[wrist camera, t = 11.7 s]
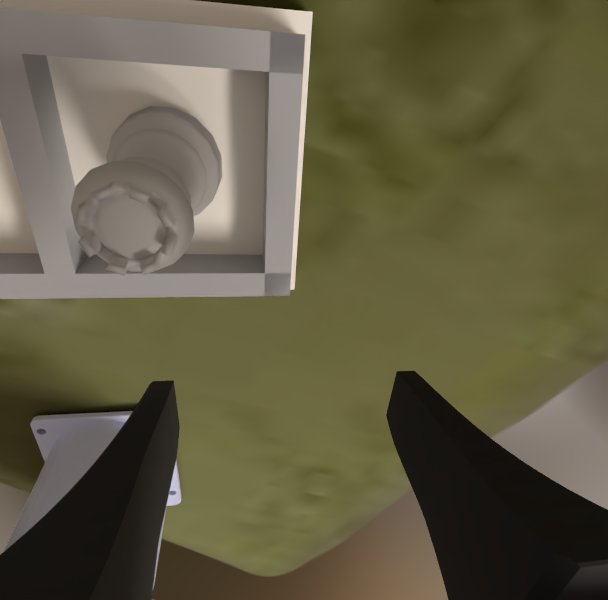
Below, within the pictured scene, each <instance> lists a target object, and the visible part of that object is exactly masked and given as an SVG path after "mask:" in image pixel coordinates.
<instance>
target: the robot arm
mask: <svg viewBox="0 0 608 600" xmlns="http://www.w3.org/2000/svg"><path fill="white" fill-rule="evenodd" d="M386 416H387V420H388V424H389V427H390V431H391V435H392V438H393V442H394V445H395V447H396V450H397V452H398V455H399V457H400V459H401V462H402V464H403V467H404V469H405V471H406V474H407V476H408V479H409V481H410V483H411V486H412V488H413V490H414V493H415V495H416V498H417V500H418V502H419V505H420V507H421V510H422V512H423V515H424V518H425V520H426V524H427V527H428V530H429V533H430V537H431V540H432V543H433V546H434V549H435V553H436V556H437V559H438V563H439V566H440V570H441V573H442V577H443V581H444V584H445V588H446V592H447V596H448V599H449V600H608V510H607V509H605V508H603V507H601V506H599V505H596V504H595V503H593V502H591V501H589V500H587V499H585V498H583V497H582V496H579V495H578V494H576V493H574V492H572V491H570V490H568V489H567V488H565V487H563V486H562V485H560V484H558V483H556V482H555V481H553V480H551V479H550V478H548V477H546V476H545V475H543V474H542V473H540V472H538V471H537V470H535V469H533V468H532V467H530V466H529V465H527V464H525V463H524V462H523V461H521V460H520V459H518V458H517V457H515V456H514V455H513V454H511V453H510V452H508V451H507V450H506V449H504V448H502V447H501V446H500V445H499V444H497V443H496V442H495V441H493V440H492V439H491V438H489V437H488V436H487V435H486V434H485V433H483V432H482V431H481V430H480V429H478V428H477V427H476V426H475V425H473V424H472V423H471V422H470V421H469V420H468V419H466V418H465V417H464V416H463V415H462V414H461V413H459V412H458V411H457V410H456V409H455V408H454V407H453V406H452V405H451V404H449V403H448V402H447V401H446V400H445V399H444V398H443V397H442V396H441V395H440V394H439V393H438V392H437V391H435V390H434V389H433V388H432V387H431V386H430V385H429V384H428V383H427V382H426V381H425V380H424V379H423V378H422V377H421V376H419V375H418V374H417V373H416V372H415V371H398V372H397V373H396V377H395V382H394V386H393V390H392V394H391V398H390V402H389V406H388V410H387V415H386ZM30 426H31V429H32V431H33V434H34V436H35V439H36V441H37V444H38V446H39V449H40V451H41V454H42V457H43V459H44V462H45V464H44V466H43V468H42V470H41V472H40V474H39V476H38V479H37V481H36V483H35V485H34V487H33V489H32V491H31V494H30V496H29V498H28V500H27V502H26V505H25V507H24V509H23V511H22V513H21V515H20V517H19V519H18V522H17V524H16V526H15V528H14V530H13V532H12V535H11V537H10V539H9V541H8V543H7V545H6V547H5V549H4V552H3V553H2V554H1V555H0V600H153V599H152V592H153V587H154V582H155V575H156V570H157V563H158V557H159V550H160V544H161V538H162V531H163V525H164V518H165V512H166V506H170V505H177V504H179V503H180V502H181V497H182V496H181V489H180V482H179V475H178V468H177V460H176V457H177V448H178V438H179V419H178V411H177V403H176V395H175V387H174V381H153V382H152V383H151V384H150V385H149V386H148V388H147V390H146V392H145V393H144V395H143V396H142V398H141V400H140V401H139V403H138V404H137V406H136V407H135V409H134V410H133V411H121V412H102V413H82V414H62V415H42V416H36V417H34V418H33V420H32V421H31V423H30ZM43 429H44V430H43Z"/></svg>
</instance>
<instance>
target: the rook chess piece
mask: <svg viewBox="0 0 608 600" xmlns="http://www.w3.org/2000/svg"><path fill="white" fill-rule="evenodd" d="M221 179H222V156H221V153H220V151H219V149H218V147H217V144H216V142H215V140H214V137H213V135H212V134H211V133H210V132H209V131H208V130H207V129H206V128H205V127H204V126H203V125H202V124H201V123H200V122H199V121H198V119H197V118H195V117H193V116H191V115H189V114H187V113H185V112H183V111H181V110H178V109H176V108H174V107H158V106H150V107H147V108H145V109H142V110H140V111H137V112H135V113H132V114H130V115H129V116H128V117H127V118H126V120H125V121H124V122H123V123H122V124H121V125H120V126H119V128H118V129H117V130H116V131H115V133H114V134H113V135H112V137H111V141H110V145H109V149H108V153H107V163H106V164H103V165H101V166H98V167H96V168H93V169H91V170H90V171H89V172H88V173H87V174H86V175H85V176H84V177H83V179H82V180H81V181H80V182H79V183H78V184H77V185H76V186H75V191H74V195H73V199H72V204H71V212H72V217H73V221H74V225H75V230H76V232H77V233H78V234H79V236H80V237H81V239H80V240H79V241H78V243H79V244H80V245H81V247H82V248H83V250H84V251H85V252H86V254H87V255H88V257H89V258H90V257H91V256H93V255H95V254H96V255H97V256H98V257H100V258H101V259H102V260H104V261H105V262H107V263H108V264H109V265H108V266H107V268H106V270H108V271H112V272H115V273H118V274H121V275H124V276H125V274H126V272H127V270H128V271H131V272H142V274H143V275H146V274H149V273H152V272H154V271H157V270H160V269H162V268H164V267H167V266H170V265H172V264H174V263H175V262H176V261H177V260H178V259H179V258H180V257H181V256H182V255H183V254H184V253H185V252H187V251H188V248H189V245H190V243H191V240H192V238H193V235H194V232H195V229H194V216H196V215H198V214H200V213H201V212H202V211H203V210H204V209H205V208H206V207H207V206H208V205H209V204H210V203H211V202H212V201H213V199H214V196H215V195H216V192H217V189H218V187H219V184H220V182H221Z"/></svg>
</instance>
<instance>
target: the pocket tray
mask: <svg viewBox="0 0 608 600" xmlns="http://www.w3.org/2000/svg"><path fill="white" fill-rule="evenodd" d="M312 13H313V12H309V11H298V10H288V9H278V8H267V7H257V6H247V5H236V4H226V3H216V2H206V1H195V0H0V299H36V298H132V297H227V296H290V289H294V287H295V272H296V257H297V242H298V226H299V211H300V196H301V181H302V165H303V150H304V135H305V120H306V104H307V89H308V74H309V59H310V43H311V28H312ZM150 106H158V107H174V108H176V109H178V110H181V111H183V112H185V113H187V114H189V115H191V116H193V117H195V118H197V119H198V121H199V122H200V123H201V124H202V125H203V126H204V127H205V128H206V129H207V130H208V131H209V132H210V133H211V134H212V135H213V137H214V140H215V142H216V144H217V147H218V149H219V151H220V153H221V156H222V179H221V182H220V184H219V187H218V189H217V192H216V195H215V196H214V199H213V201H212V202H211V203H210V204H209V205H208V206H207V207H206V208H205V209H204V210H203V211H202V212H201V213H200V214H198V215H196V216H194V229H195V232H194V235H193V238H192V240H191V243H190V245H189V248H188V251H187V252H185V253H184V254H183V255H182V256H181V257H180V258H179V259H178V260H177V261H176V262H175V263H174V264H172V265H170V266H167V267H164V268H162V269H160V270H157V271H154V272H152V273H149V274H146V275H143V274H142V272H131V271H128V270H127V272H126V274H125V276H124V275H121V274H118V273H115V272H112V271H108V270H106V268H107V266H108V265H109V264H108V263H107V262H105V261H104V260H102V259H101V258H100V257H98V256H97V255H96V254H95V255H93V256H91V257H90V258H89V257H88V255H87V254H86V252H85V251H84V250H83V248H82V247H81V245H80V244H79V243H78V241H79V240H80V239H81V237H80V236H79V234H78V233H77V232H76V230H75V225H74V221H73V217H72V212H71V204H72V199H73V195H74V191H75V186H76V185H77V184H78V183H79V182H80V181H81V180H82V179H83V177H84V176H85V175H86V174H87V173H88V172H89V171H90V170H91V169H93V168H96V167H98V166H101V165H103V164H106V163H107V153H108V149H109V145H110V141H111V137H112V135H113V134H114V133H115V131H116V130H117V129H118V128H119V126H120V125H121V124H122V123H123V122H124V121H125V120H126V118H127V117H128V116H129V115H130V114H132V113H135V112H137V111H140V110H142V109H145V108H147V107H150Z"/></svg>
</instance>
